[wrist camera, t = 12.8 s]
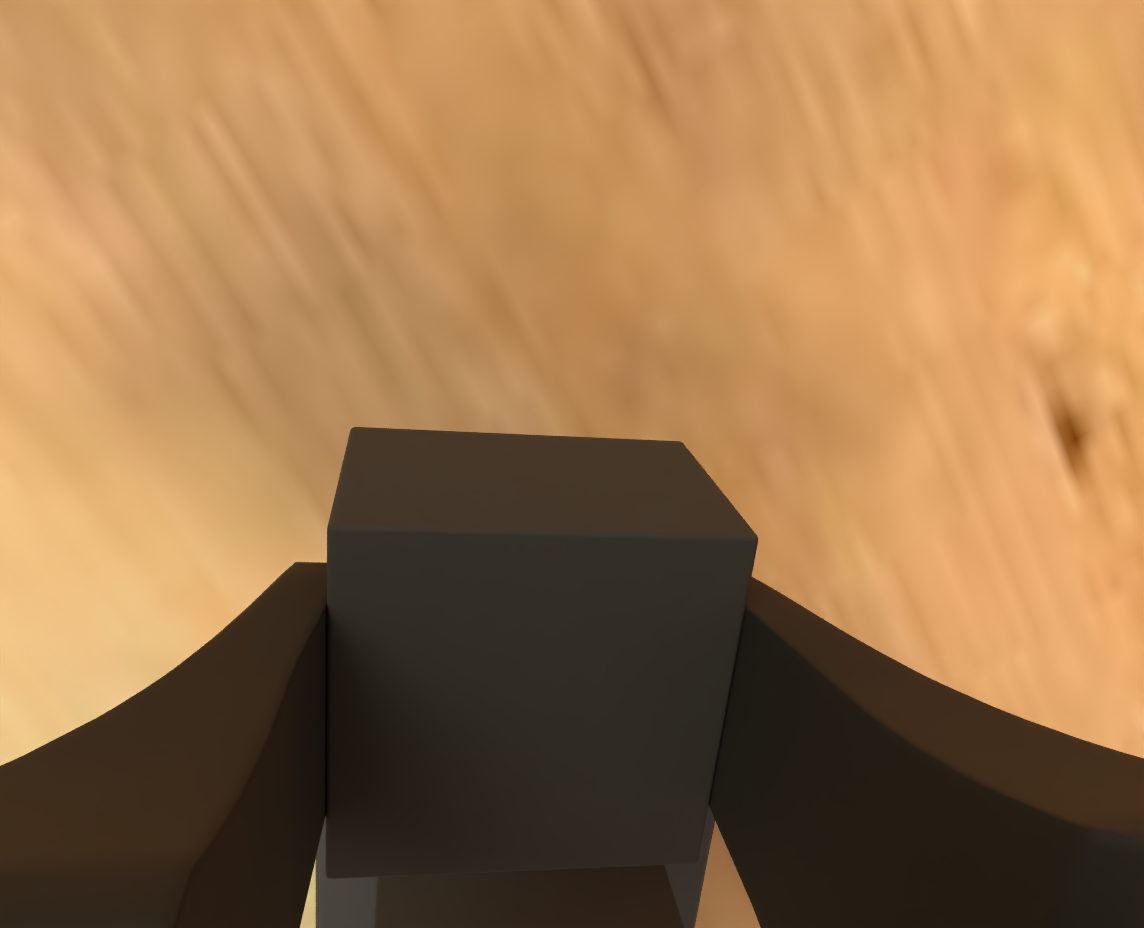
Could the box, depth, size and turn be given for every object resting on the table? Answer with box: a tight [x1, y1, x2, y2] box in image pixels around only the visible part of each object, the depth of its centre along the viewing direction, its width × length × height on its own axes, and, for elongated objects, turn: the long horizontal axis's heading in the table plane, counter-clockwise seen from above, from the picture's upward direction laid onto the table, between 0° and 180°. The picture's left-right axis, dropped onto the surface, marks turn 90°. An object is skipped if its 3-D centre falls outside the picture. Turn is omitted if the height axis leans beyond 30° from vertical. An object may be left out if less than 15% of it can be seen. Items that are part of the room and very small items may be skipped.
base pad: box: [316, 805, 715, 928], centre depth 20 cm, size 8×8×2 cm
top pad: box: [325, 427, 758, 879], centre depth 12 cm, size 5×5×3 cm
